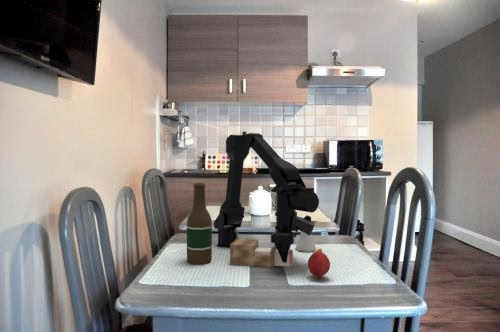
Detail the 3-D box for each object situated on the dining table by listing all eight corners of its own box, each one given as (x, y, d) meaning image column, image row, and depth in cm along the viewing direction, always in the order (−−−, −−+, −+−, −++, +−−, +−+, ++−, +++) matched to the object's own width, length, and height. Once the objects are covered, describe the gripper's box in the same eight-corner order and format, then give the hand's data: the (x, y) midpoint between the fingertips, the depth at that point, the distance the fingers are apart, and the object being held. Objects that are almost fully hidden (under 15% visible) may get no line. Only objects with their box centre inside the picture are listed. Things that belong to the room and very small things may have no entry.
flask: (315, 247, 127) (315, 219, 127) (317, 253, 120) (317, 223, 120) (294, 246, 128) (295, 218, 127) (295, 252, 121) (295, 222, 120)
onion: (316, 283, 92) (317, 252, 91) (303, 276, 97) (303, 247, 96) (334, 279, 94) (334, 249, 94) (320, 273, 99) (320, 244, 99)
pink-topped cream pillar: (244, 263, 108) (244, 250, 108) (247, 259, 112) (247, 246, 112) (291, 266, 105) (291, 253, 105) (292, 262, 109) (292, 249, 109)
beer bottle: (216, 259, 112) (217, 182, 111) (203, 266, 105) (203, 184, 104) (195, 256, 115) (195, 181, 114) (181, 263, 108) (181, 183, 107)
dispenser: (230, 264, 107) (230, 244, 107) (236, 257, 115) (236, 238, 114) (273, 267, 104) (273, 247, 104) (277, 259, 112) (277, 240, 112)
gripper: (312, 214, 96) (311, 272, 96) (314, 204, 114) (313, 253, 115) (270, 212, 98) (270, 269, 99) (279, 203, 116) (279, 251, 117)
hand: (285, 260), depth 107 cm, fingers closed on pink-topped cream pillar, 4 cm apart
